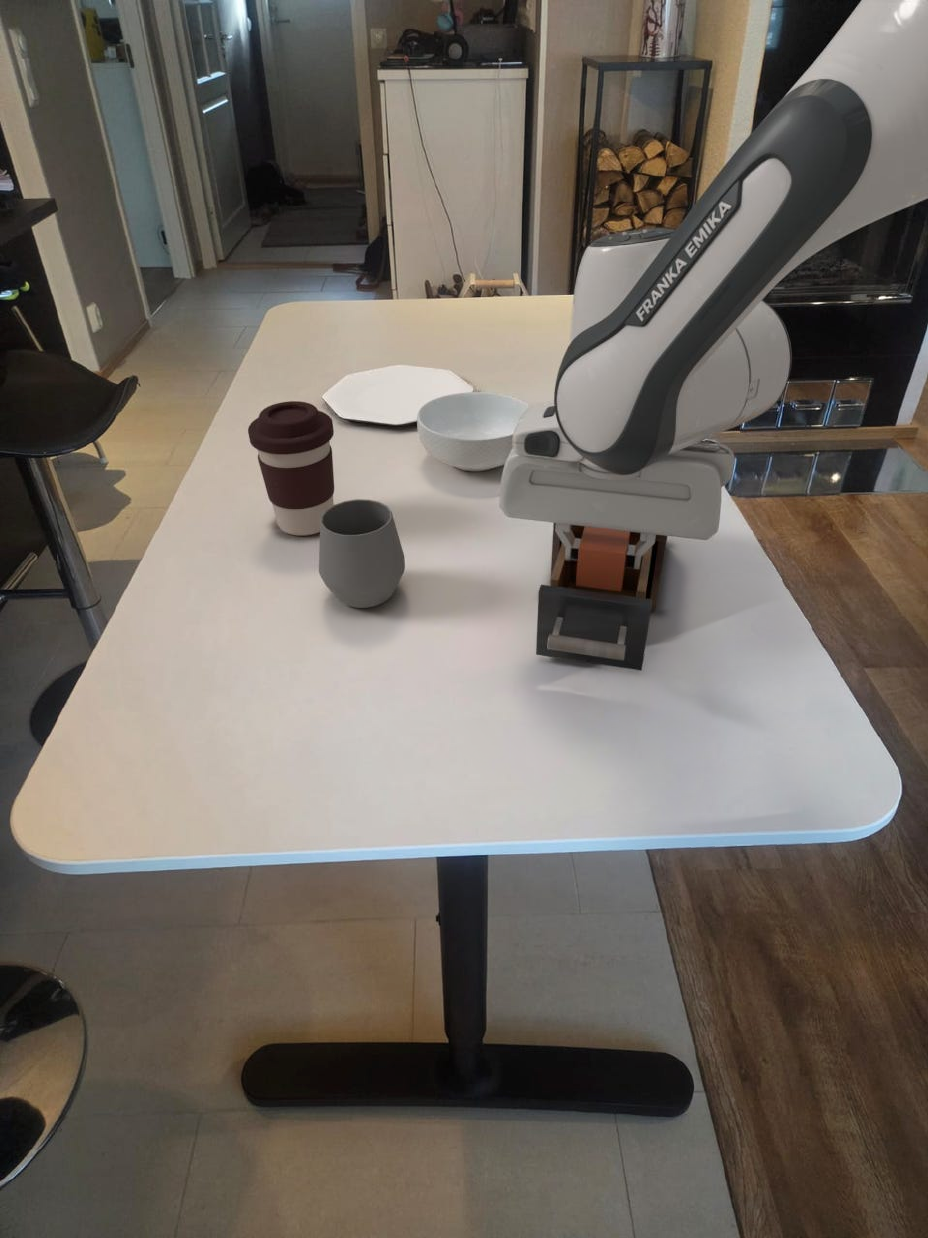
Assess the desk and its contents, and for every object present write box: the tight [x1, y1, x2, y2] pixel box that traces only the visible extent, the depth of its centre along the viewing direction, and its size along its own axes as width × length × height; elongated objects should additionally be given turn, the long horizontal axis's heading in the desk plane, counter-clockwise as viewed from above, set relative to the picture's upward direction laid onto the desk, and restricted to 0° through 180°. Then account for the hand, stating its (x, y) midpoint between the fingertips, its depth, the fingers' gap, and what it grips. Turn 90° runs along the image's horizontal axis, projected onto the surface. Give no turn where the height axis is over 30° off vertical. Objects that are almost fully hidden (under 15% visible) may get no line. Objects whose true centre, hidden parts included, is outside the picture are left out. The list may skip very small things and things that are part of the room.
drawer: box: [535, 531, 653, 671], centre depth 79 cm, size 17×10×8 cm, turn 165°
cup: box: [318, 498, 406, 609], centre depth 87 cm, size 10×9×10 cm
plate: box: [321, 364, 475, 427], centre depth 133 cm, size 24×24×2 cm
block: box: [576, 526, 630, 591], centre depth 78 cm, size 4×4×4 cm
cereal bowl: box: [416, 391, 531, 472], centre depth 114 cm, size 17×17×7 cm
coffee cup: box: [247, 400, 335, 536], centre depth 98 cm, size 10×10×15 cm
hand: (602, 561), depth 78 cm, fingers closed on block, 4 cm apart
